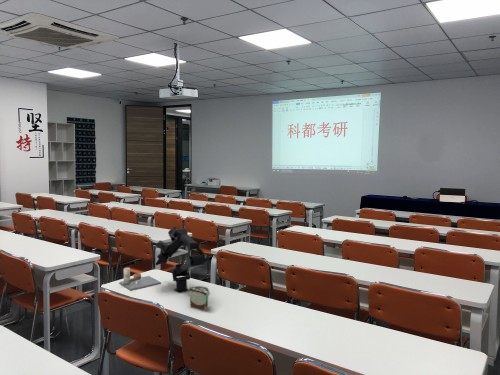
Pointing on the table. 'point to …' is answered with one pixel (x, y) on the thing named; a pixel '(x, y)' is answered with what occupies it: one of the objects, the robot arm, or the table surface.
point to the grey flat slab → (141, 283)
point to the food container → (199, 297)
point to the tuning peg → (127, 276)
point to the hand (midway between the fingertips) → (156, 264)
